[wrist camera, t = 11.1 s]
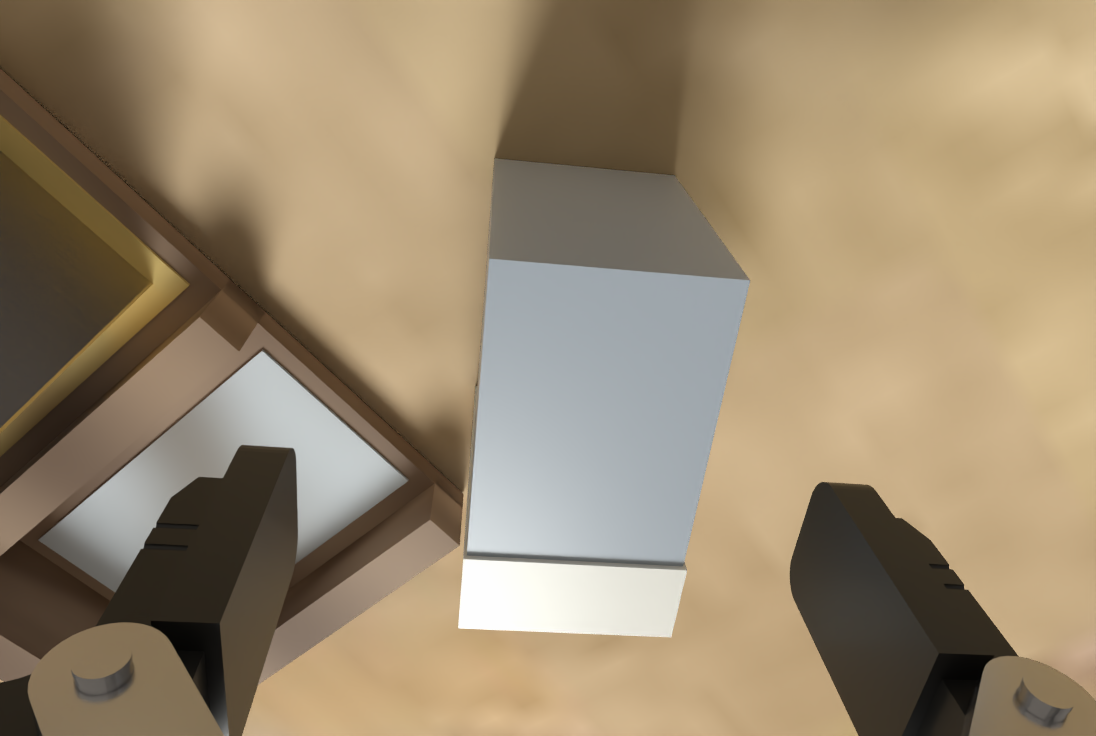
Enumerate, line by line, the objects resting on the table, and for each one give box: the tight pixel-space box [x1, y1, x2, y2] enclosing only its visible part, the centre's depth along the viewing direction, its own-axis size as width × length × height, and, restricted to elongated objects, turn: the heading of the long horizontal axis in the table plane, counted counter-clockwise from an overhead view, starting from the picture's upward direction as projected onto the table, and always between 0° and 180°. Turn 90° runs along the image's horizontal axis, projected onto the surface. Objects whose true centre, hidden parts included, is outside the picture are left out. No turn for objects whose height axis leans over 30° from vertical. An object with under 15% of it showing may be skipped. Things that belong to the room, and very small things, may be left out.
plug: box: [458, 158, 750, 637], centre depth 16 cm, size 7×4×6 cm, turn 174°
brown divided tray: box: [0, 69, 463, 685], centre depth 18 cm, size 10×14×3 cm
